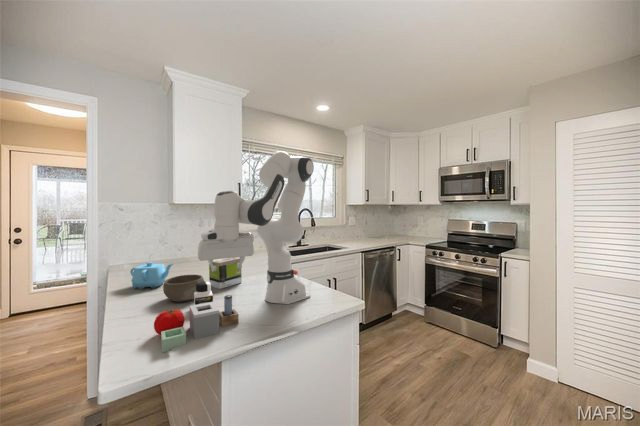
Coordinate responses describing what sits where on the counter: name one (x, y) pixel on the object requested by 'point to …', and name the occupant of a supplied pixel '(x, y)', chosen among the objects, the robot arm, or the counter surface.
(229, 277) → the tea box
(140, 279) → the teapot
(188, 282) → the bowl
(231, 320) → the holder
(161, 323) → the tomato
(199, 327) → the grey hollow block
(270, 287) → the robot arm
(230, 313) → the grey rod
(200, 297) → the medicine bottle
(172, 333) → the rest socket
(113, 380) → the counter surface
